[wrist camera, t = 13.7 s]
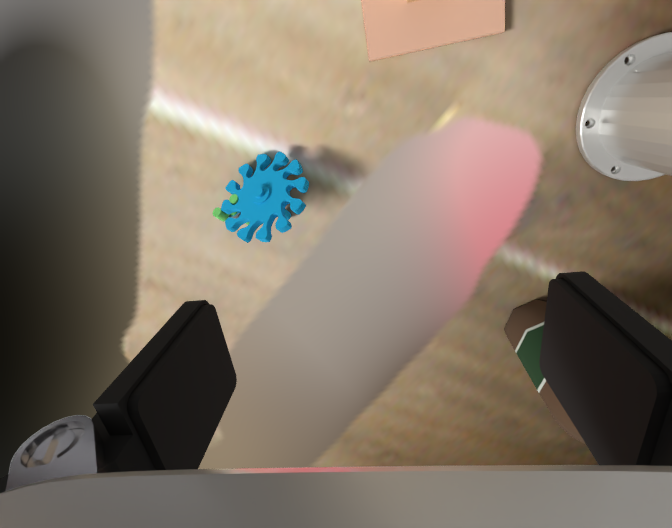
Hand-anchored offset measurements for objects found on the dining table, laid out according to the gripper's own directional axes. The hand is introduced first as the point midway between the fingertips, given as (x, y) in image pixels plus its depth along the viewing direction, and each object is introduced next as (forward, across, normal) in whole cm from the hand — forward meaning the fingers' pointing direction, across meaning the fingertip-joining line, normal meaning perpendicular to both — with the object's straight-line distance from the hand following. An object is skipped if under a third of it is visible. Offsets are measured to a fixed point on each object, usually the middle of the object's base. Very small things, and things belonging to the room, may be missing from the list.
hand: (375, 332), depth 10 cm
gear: (+31, +12, +2) cm, 33 cm away
